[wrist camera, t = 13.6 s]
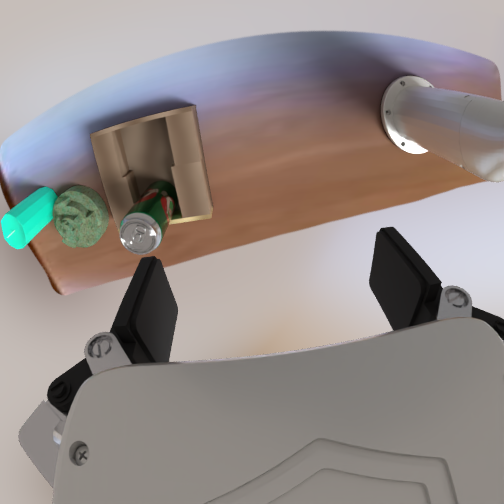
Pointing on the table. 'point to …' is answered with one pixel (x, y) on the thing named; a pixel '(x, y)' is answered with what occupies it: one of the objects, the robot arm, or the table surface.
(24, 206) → the candle
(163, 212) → the soda can
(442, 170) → the table surface
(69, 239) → the decorative artifact
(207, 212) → the open cardboard box
